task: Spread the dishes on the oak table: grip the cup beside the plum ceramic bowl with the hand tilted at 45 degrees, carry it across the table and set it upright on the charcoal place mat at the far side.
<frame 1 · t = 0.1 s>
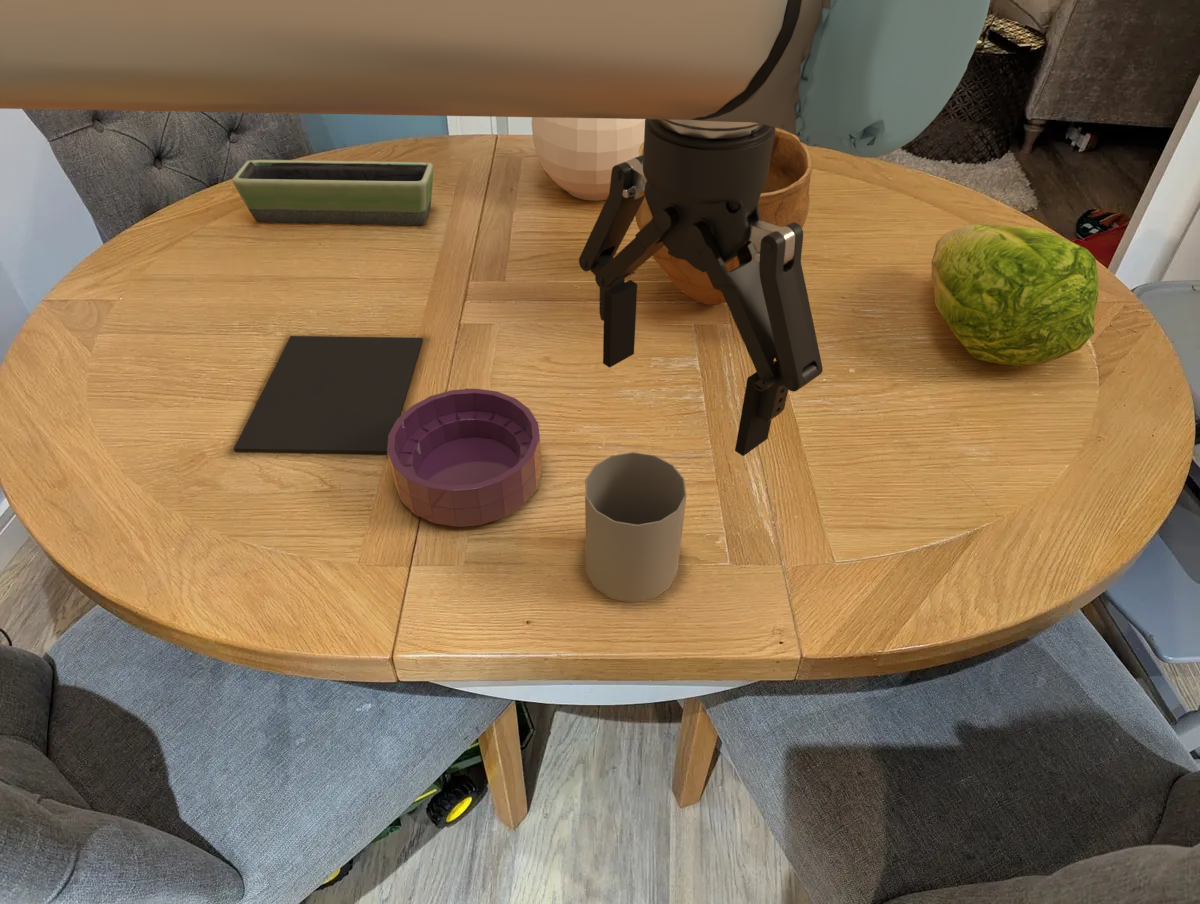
hand: (681, 399, 61), 19 cm above the table, tool pointing down, fingers open, 13 cm apart
bowl: (708, 302, 105), on the table
plum bowl: (469, 476, 81), on the table
planter: (344, 218, 121), on the table
cup: (631, 565, 73), on the table
lettuce: (982, 327, 101), on the table
place mat: (336, 392, 91), on the table
pitcher: (593, 189, 128), on the table
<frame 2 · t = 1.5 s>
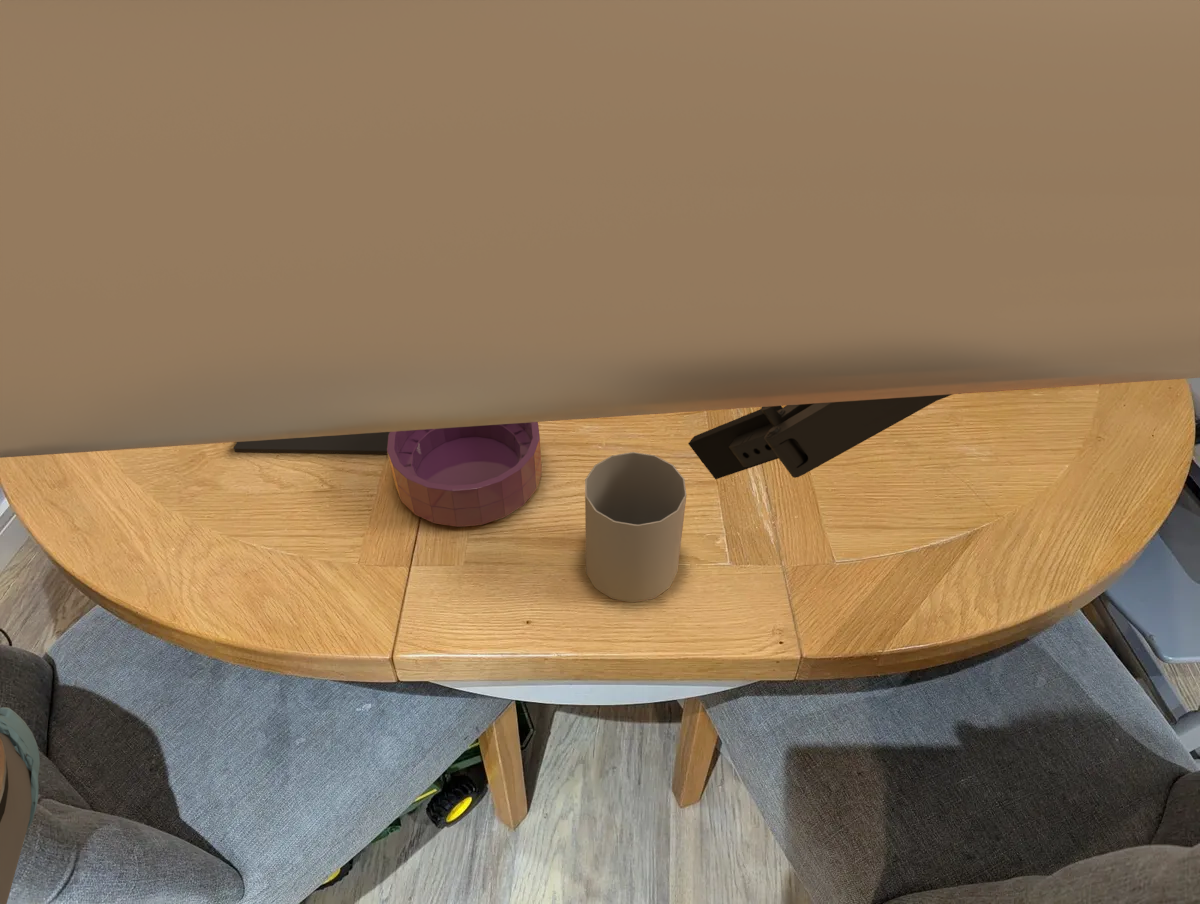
hand: (754, 394, 51), 25 cm above the table, tool tilted 45°, fingers open, 13 cm apart
nothing on the table moved.
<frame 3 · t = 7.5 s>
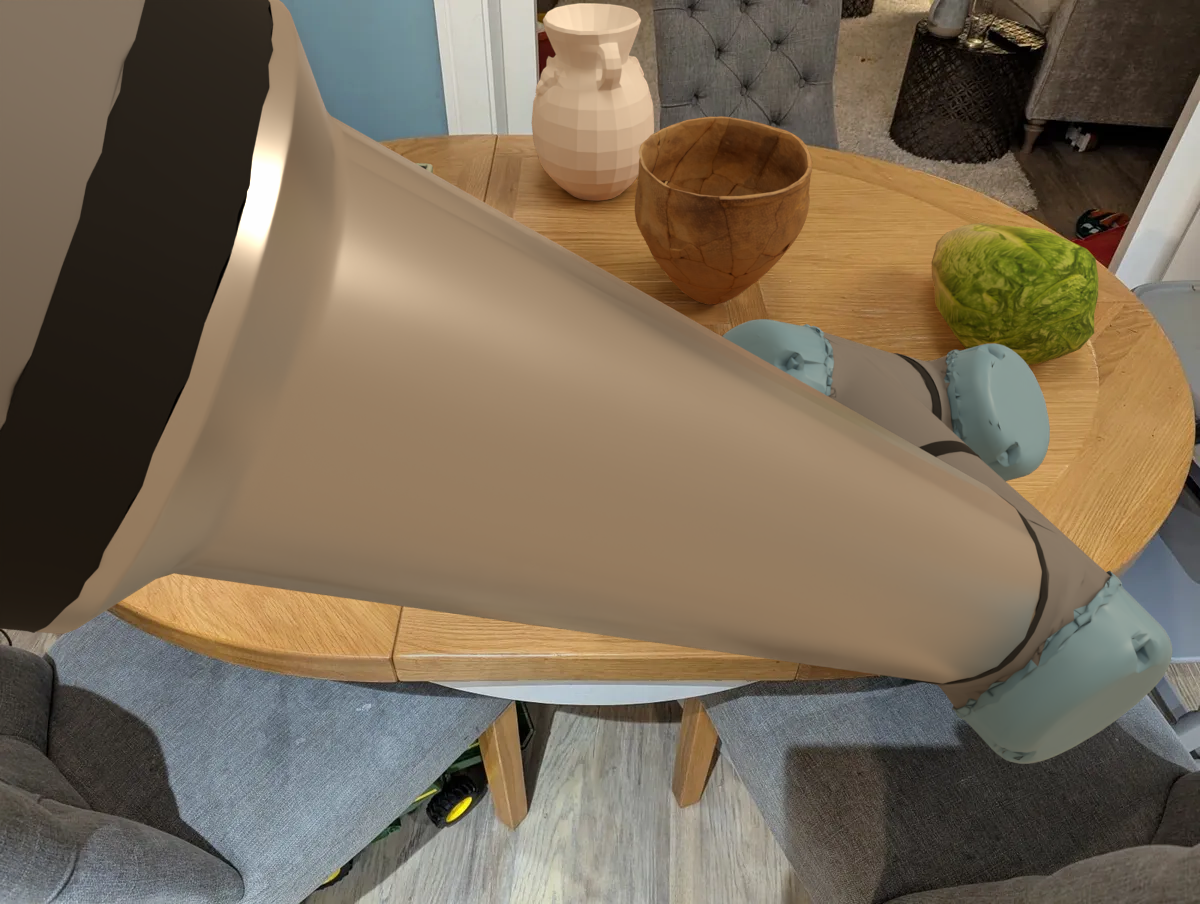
hand: (601, 521, 72), 4 cm above the table, tool tilted 45°, fingers closed on cup, 8 cm apart
cup: (631, 565, 73), on the table, touching gripper
everything else where it was.
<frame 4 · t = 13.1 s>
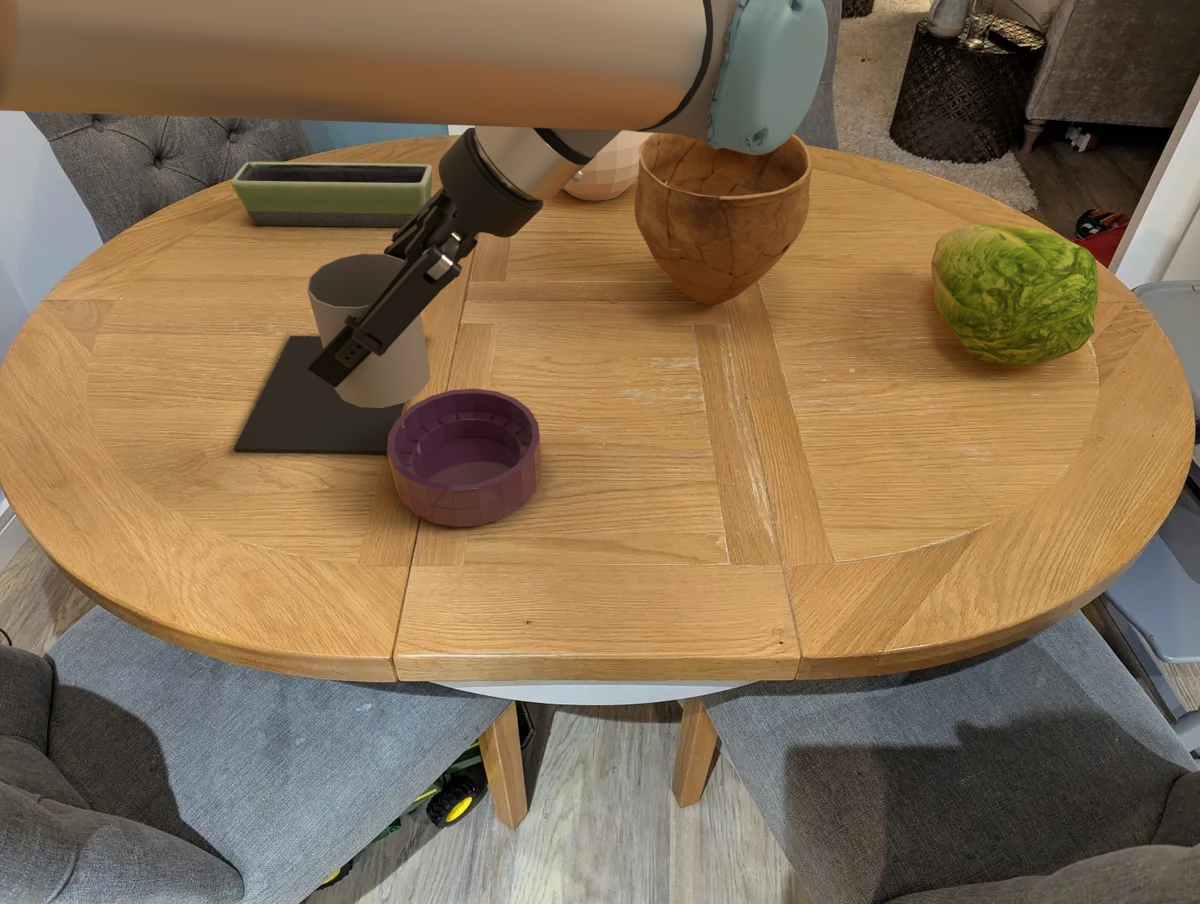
hand: (336, 343, 69), 17 cm above the table, tool tilted 45°, fingers closed on cup, 8 cm apart
cup: (383, 379, 72), point 13 cm above the table, touching gripper
everything else where it was.
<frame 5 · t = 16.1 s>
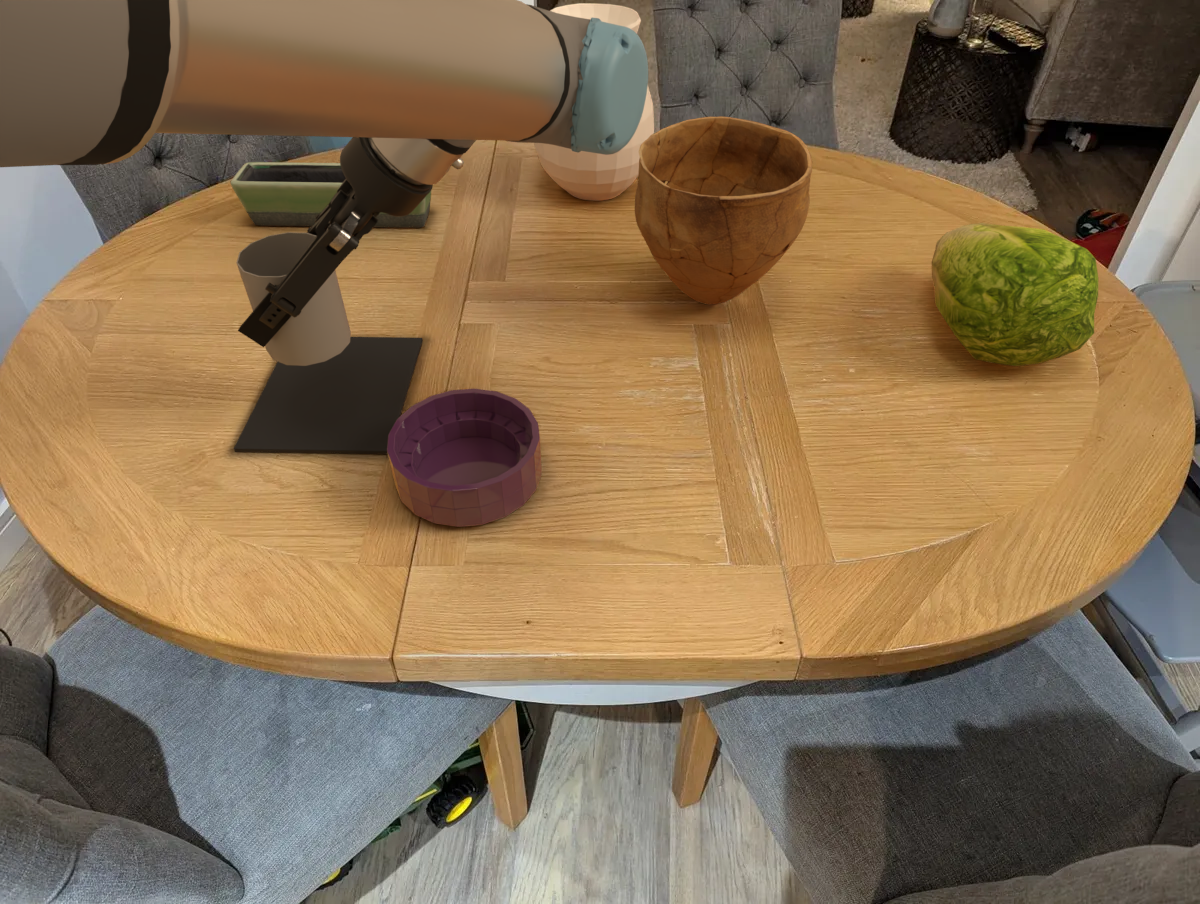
hand: (266, 310, 80), 12 cm above the table, tool tilted 45°, fingers closed on cup, 8 cm apart
cup: (309, 342, 83), point 9 cm above the table, touching gripper
everything else where it was.
when the fingers open (4 cm above the table, at t = 18.8 s): cup stays where it is, resting on place mat.
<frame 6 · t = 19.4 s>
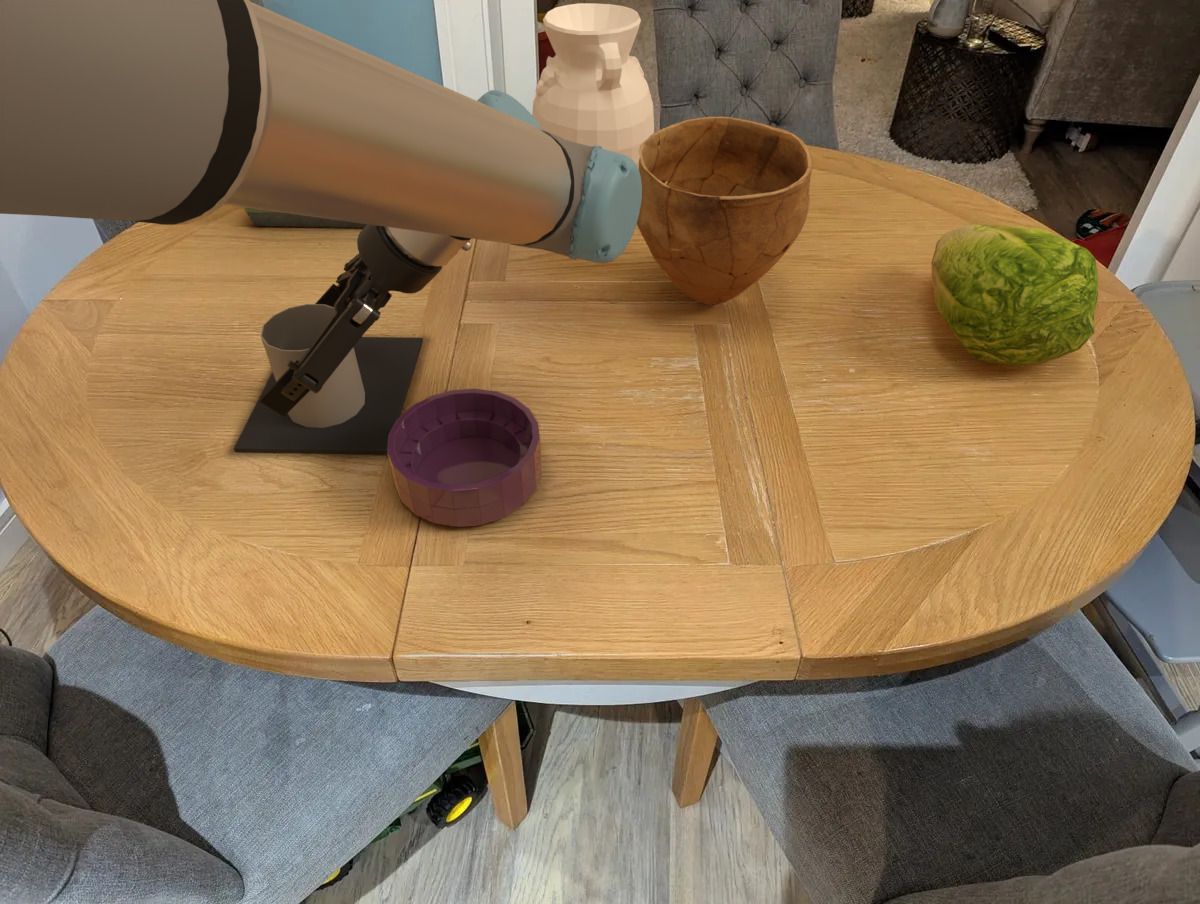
hand: (292, 365, 85), 6 cm above the table, tool tilted 45°, fingers open, 13 cm apart
cup: (326, 404, 89), resting on place mat
everything else where it was.
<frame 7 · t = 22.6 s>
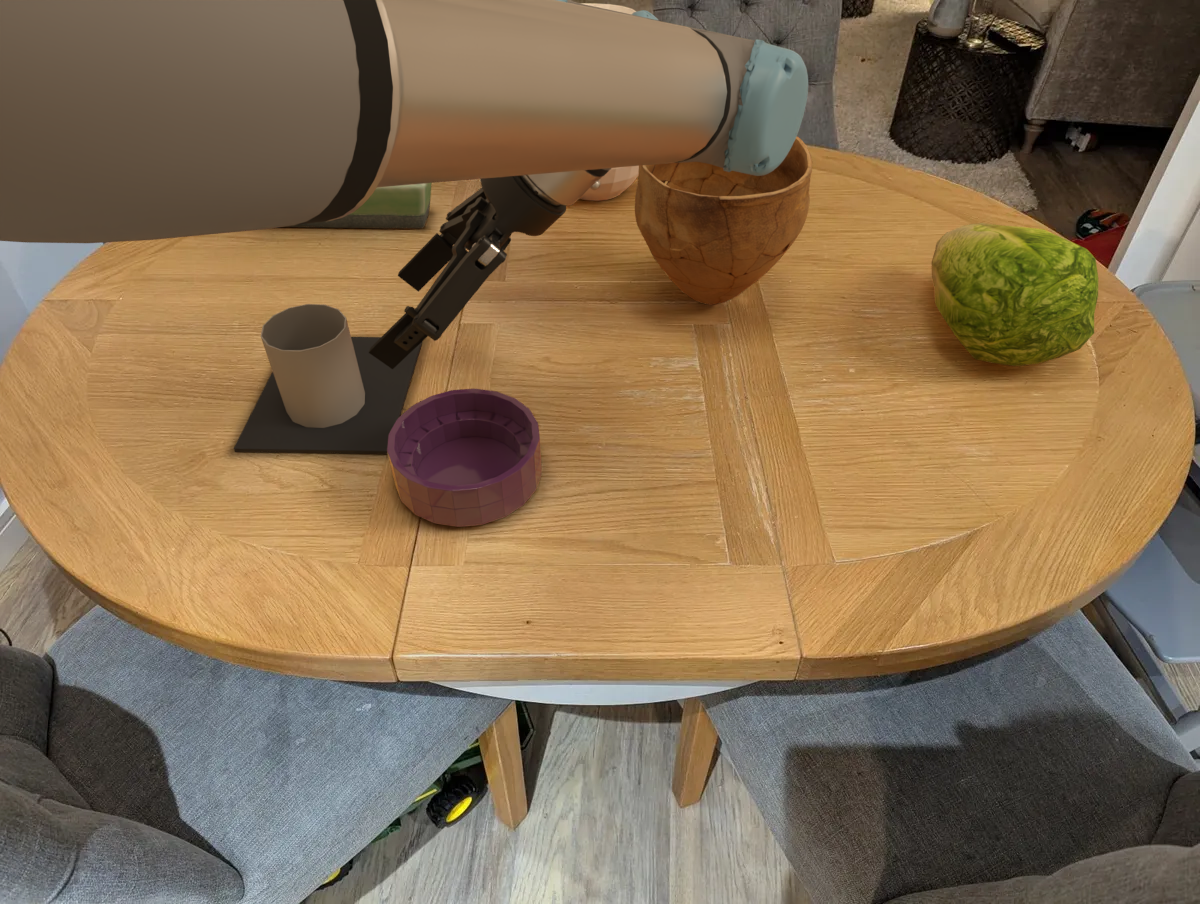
hand: (395, 318, 81), 12 cm above the table, tool tilted 45°, fingers open, 13 cm apart
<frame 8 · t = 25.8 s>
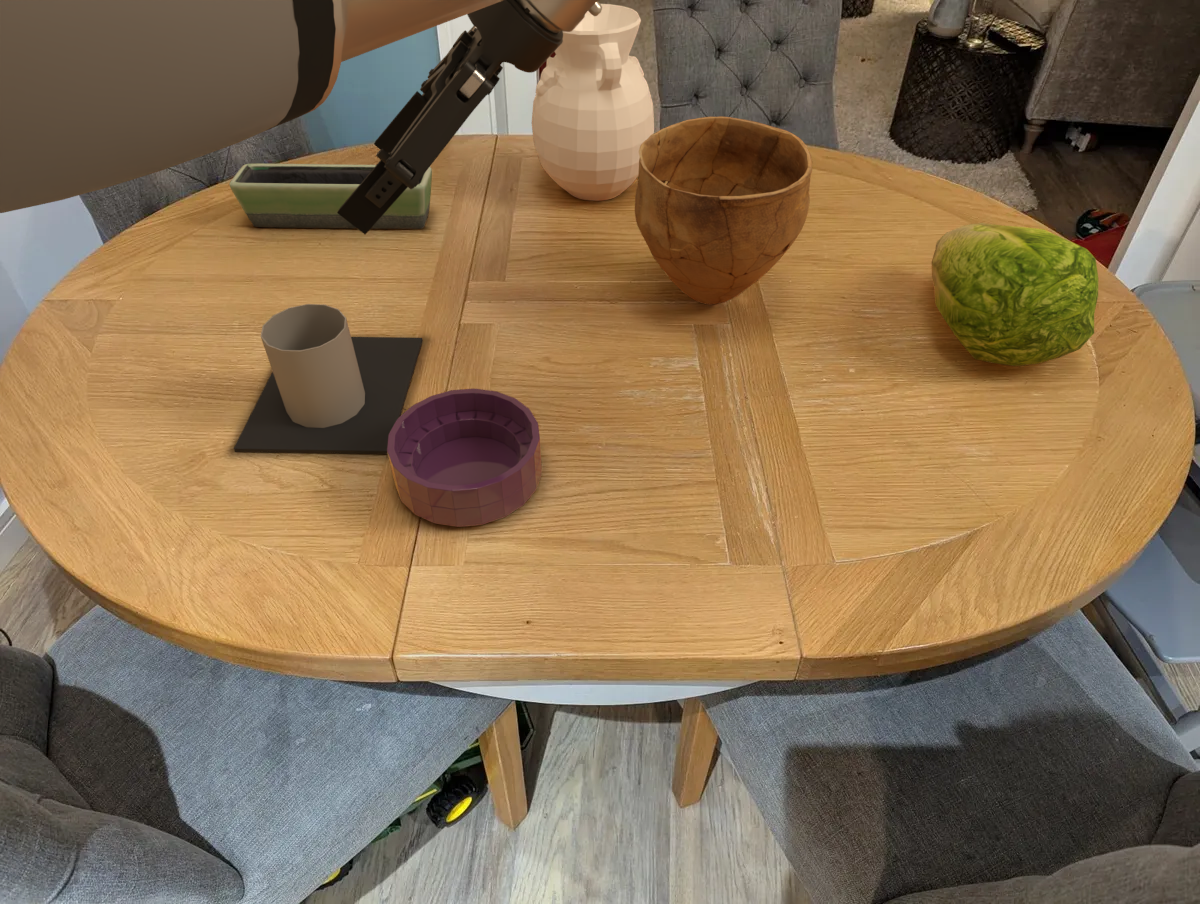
hand: (370, 185, 71), 26 cm above the table, tool tilted 45°, fingers open, 13 cm apart
at the end: cup inside the target area on the place mat (2.5 cm from its centre), point 0.3 cm above the place mat's base; cup tilted 0°; cup moved 39.5 cm from its start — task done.
